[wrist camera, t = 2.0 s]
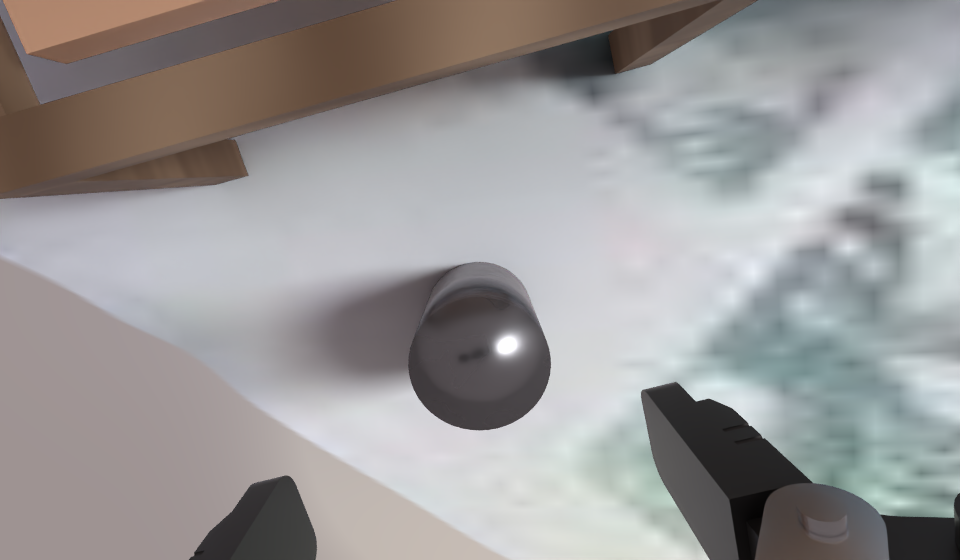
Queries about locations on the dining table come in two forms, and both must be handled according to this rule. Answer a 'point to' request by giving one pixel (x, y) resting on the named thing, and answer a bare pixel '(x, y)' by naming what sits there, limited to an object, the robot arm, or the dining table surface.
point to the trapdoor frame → (298, 85)
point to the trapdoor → (108, 23)
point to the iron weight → (479, 349)
